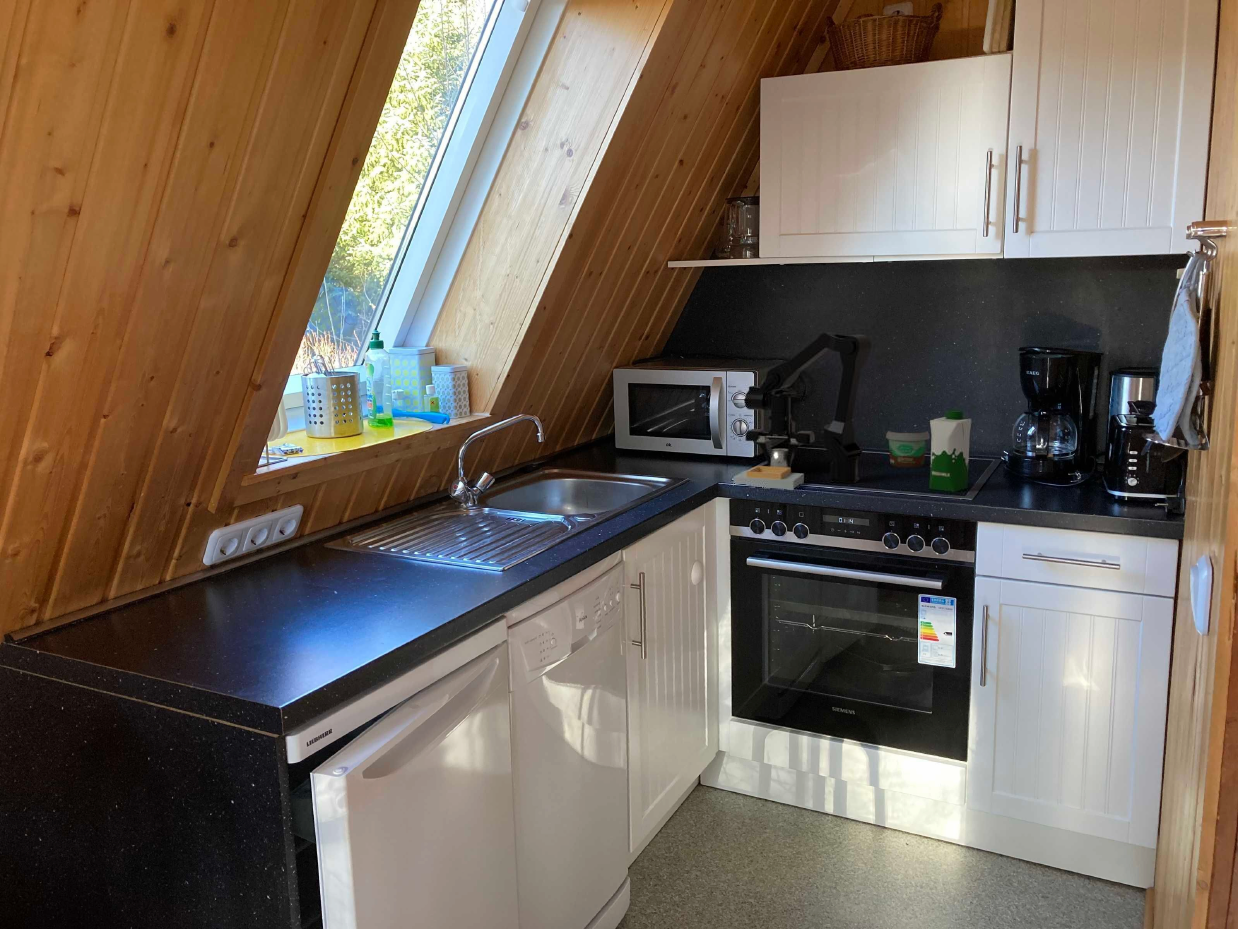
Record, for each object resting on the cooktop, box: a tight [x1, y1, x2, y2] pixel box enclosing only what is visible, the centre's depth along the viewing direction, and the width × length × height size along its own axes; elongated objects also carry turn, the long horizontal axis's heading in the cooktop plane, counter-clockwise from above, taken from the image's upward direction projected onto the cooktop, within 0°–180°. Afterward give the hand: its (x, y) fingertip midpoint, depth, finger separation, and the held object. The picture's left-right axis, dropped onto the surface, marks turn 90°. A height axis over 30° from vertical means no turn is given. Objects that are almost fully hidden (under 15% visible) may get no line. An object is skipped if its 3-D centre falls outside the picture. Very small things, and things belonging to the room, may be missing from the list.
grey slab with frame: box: [733, 465, 805, 491], centre depth 270 cm, size 16×10×4 cm, turn 65°
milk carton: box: [928, 409, 972, 493], centre depth 258 cm, size 9×9×20 cm
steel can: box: [769, 448, 790, 468], centre depth 286 cm, size 5×5×6 cm
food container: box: [885, 430, 930, 468], centre depth 291 cm, size 12×6×10 cm, turn 80°
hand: (779, 466), depth 286 cm, fingers closed on steel can, 5 cm apart
